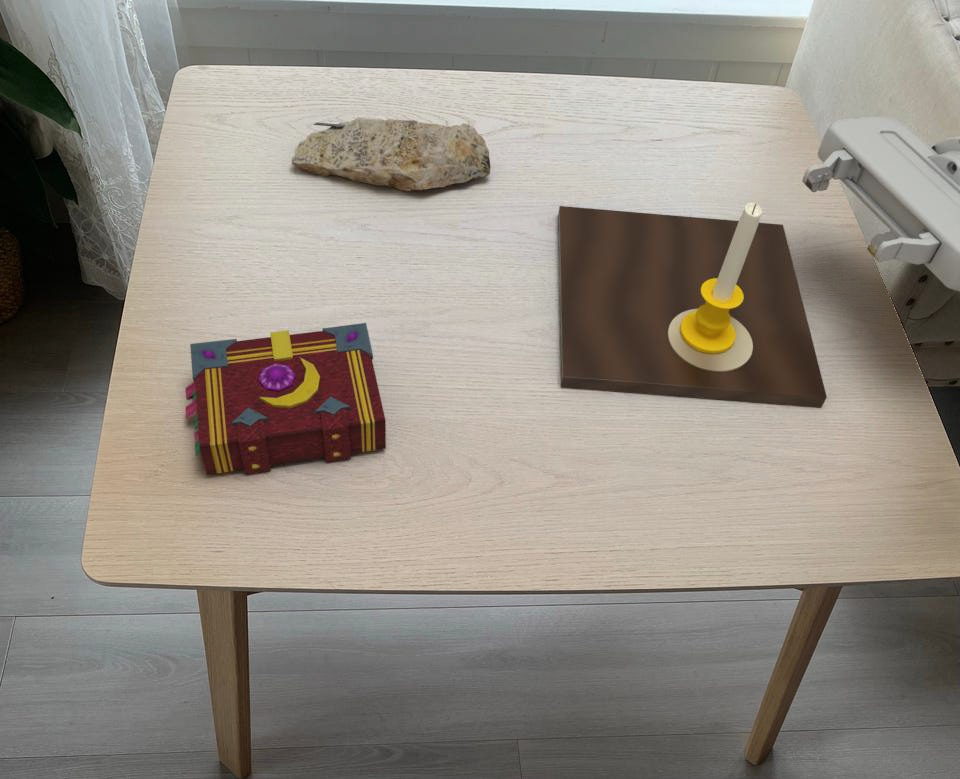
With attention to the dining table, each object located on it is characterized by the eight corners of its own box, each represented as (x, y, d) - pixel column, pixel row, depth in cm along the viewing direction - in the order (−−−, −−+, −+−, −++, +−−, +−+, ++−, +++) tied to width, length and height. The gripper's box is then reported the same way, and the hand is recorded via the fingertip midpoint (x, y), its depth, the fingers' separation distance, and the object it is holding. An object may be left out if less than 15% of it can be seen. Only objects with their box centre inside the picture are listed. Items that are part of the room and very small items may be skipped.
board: (778, 235, 102) (783, 222, 101) (821, 407, 87) (827, 396, 86) (557, 216, 102) (559, 204, 100) (560, 387, 86) (563, 375, 85)
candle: (743, 350, 88) (798, 220, 77) (692, 358, 87) (739, 227, 75) (721, 310, 92) (770, 180, 80) (671, 317, 91) (713, 186, 79)
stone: (498, 119, 104) (479, 142, 96) (495, 178, 107) (477, 204, 99) (317, 104, 108) (283, 124, 99) (320, 161, 111) (287, 185, 102)
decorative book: (388, 454, 80) (388, 417, 76) (191, 484, 77) (180, 447, 73) (366, 355, 87) (365, 317, 83) (184, 379, 84) (175, 340, 80)
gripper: (909, 90, 87) (784, 112, 83) (1071, 228, 75) (934, 262, 71) (881, 147, 92) (762, 171, 88) (1030, 286, 80) (900, 321, 76)
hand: (840, 213), depth 80 cm, fingers open, 8 cm apart
